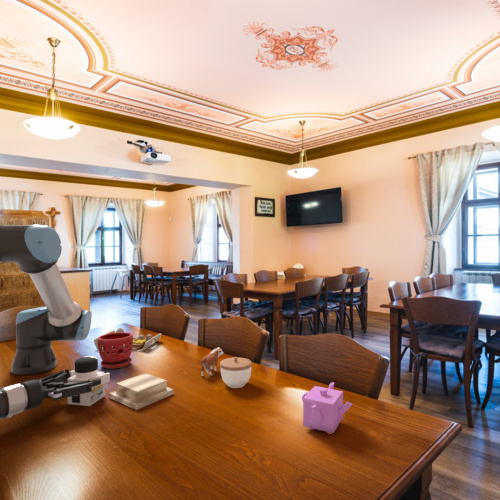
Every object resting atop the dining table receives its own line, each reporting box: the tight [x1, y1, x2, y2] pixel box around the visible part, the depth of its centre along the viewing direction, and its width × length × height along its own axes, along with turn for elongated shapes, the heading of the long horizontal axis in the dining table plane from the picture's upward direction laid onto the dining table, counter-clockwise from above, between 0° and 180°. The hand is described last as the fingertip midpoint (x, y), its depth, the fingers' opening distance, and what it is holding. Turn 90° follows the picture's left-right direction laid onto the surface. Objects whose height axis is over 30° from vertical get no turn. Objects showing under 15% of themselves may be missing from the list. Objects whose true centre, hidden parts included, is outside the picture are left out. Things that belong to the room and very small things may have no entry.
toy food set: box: [93, 327, 162, 353], centre depth 172 cm, size 25×18×8 cm
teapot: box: [301, 381, 353, 434], centre depth 95 cm, size 18×13×10 cm
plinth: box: [108, 372, 174, 411], centre depth 114 cm, size 14×14×4 cm
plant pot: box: [97, 331, 134, 370], centre depth 144 cm, size 13×13×12 cm
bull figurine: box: [200, 347, 224, 377], centre depth 136 cm, size 4×13×8 cm, turn 155°
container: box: [66, 355, 106, 407], centre depth 111 cm, size 8×8×13 cm
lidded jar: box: [219, 356, 253, 389], centre depth 123 cm, size 11×11×9 cm
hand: (99, 373), depth 115 cm, fingers closed on container, 10 cm apart
